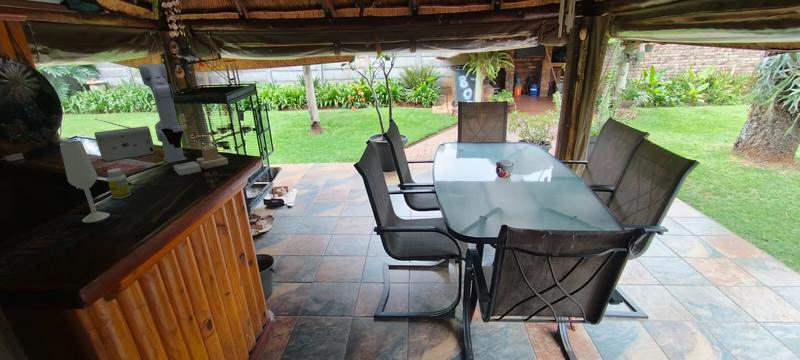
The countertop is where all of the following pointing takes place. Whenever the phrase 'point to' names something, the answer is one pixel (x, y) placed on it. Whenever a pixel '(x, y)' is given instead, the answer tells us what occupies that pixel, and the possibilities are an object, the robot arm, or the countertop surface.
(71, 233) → the countertop surface
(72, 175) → the champagne flute
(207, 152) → the terracotta cube
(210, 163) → the olive block
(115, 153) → the stereo radio cassette player
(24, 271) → the countertop surface
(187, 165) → the grey block
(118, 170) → the supplement bottle
